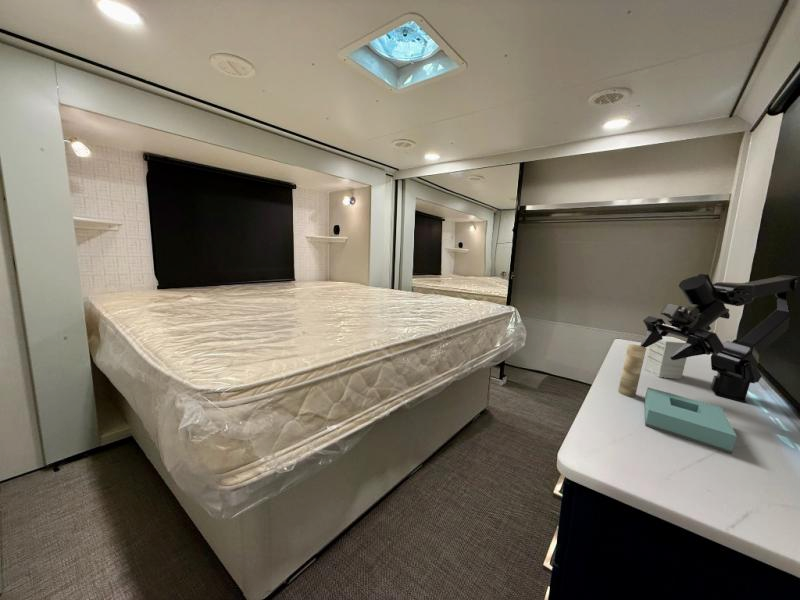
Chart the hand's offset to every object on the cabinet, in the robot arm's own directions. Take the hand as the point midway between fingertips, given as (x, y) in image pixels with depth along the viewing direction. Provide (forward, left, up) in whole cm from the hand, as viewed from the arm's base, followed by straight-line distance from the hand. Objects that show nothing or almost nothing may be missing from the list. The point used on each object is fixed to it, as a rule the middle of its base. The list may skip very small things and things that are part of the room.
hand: (655, 352), depth 86 cm
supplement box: (-5, -25, -13) cm, 28 cm away
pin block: (-7, +14, -12) cm, 20 cm away
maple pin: (+4, +4, -12) cm, 14 cm away
